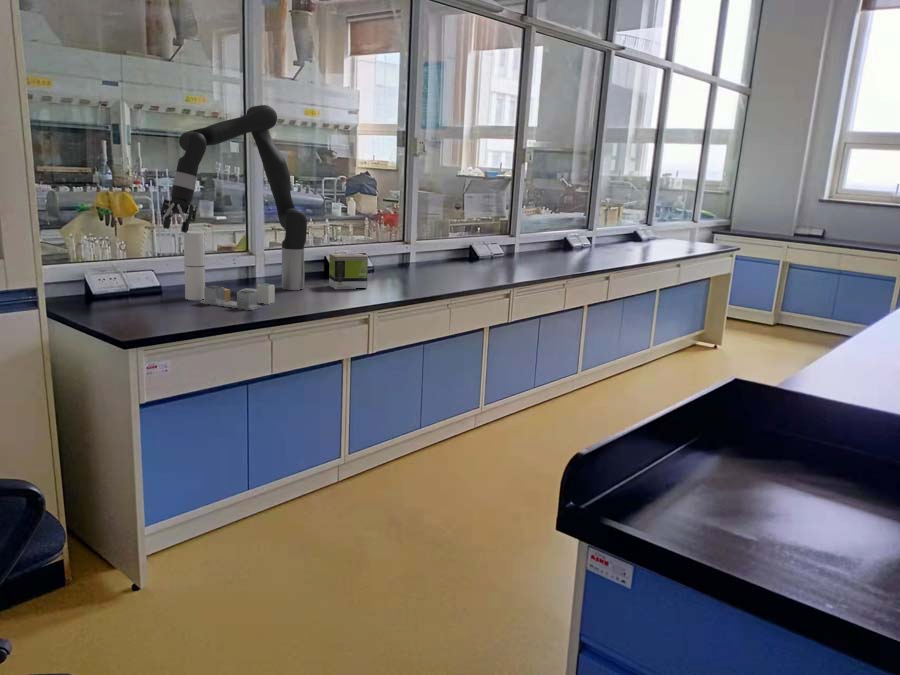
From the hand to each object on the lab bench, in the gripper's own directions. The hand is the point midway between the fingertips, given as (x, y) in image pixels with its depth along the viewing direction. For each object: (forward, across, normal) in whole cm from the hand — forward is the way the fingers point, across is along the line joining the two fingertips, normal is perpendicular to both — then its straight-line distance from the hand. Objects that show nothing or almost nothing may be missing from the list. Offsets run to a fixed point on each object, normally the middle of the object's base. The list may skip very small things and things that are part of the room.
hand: (174, 230), depth 252 cm
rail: (+22, -24, -9) cm, 34 cm away
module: (+19, -30, -21) cm, 41 cm away
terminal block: (+22, -15, -16) cm, 31 cm away
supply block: (+19, -20, -24) cm, 37 cm away
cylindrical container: (+24, -6, -11) cm, 27 cm away
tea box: (+8, -35, -70) cm, 79 cm away
